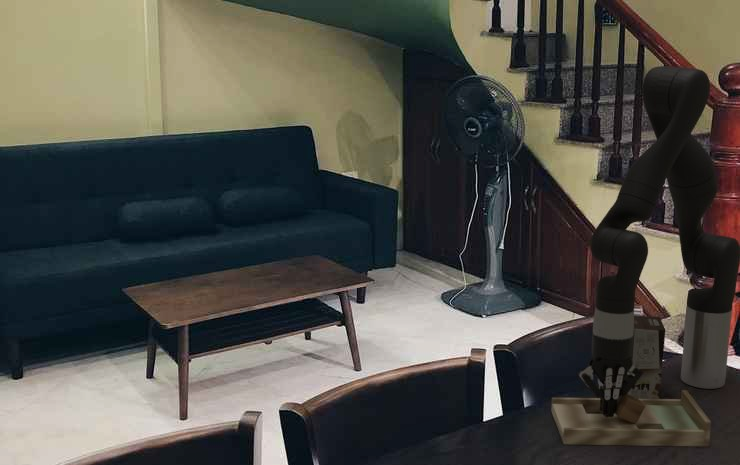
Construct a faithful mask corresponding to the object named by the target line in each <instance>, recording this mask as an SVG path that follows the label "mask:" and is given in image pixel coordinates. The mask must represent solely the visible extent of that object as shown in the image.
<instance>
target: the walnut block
mask: <svg viewBox="0 0 740 465" xmlns="http://www.w3.org/2000/svg"><path fill="white" fill-rule="evenodd" d="M644 408H645V405H644V404H643V403H642V402H641V401H640V400H639V399H638V398H636V397H634V396H632V395H629V394H628V393H627V394H626V395H621V396H619V397H618V398H617V408H616V412H615V414H616V415H617V416H618V417H619V418H622V419H624V420H627V421H629V422H632V423H634V424H636V423H637V421H638V419H639V418H640V416H641V414H642V412H643V410H644Z"/></svg>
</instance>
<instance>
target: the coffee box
mask: <svg viewBox="0 0 740 465" xmlns="http://www.w3.org/2000/svg"><path fill="white" fill-rule="evenodd" d="M666 332H667V330H666V327H665V326H664V323H663V320H662V319H661V317H660V316H652V315H651V316H648V315H647V316H646V315H645V316H644V315H643V316H641V315H640V316H637V315H634V336H633V349H632V356H631V359H632V361H633V365H634V366H636V367H637V368H639V369H640V370H641V371H642V372H643V374H642V376H641V377H640V378H639V379H638V381H637V382H636V383H635V384H634V386H633V387H632V388H631V389H630V391H629V392H628V393H627V394H629V395H632V396H634V397H636V398H638V399H661V387H662V386H661V385H662V376H663V374H662V372H663V362H664V351H665V340H666V339H665V338H666Z"/></svg>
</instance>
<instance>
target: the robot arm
mask: <svg viewBox="0 0 740 465" xmlns="http://www.w3.org/2000/svg"><path fill="white" fill-rule="evenodd" d="M641 91H642V100H643V101H642V102H643V105H644V108H645V111H646V115H647V118H648V120H649V121H650V125H651V128H652V130H653V132H654V136H655V139H656V141H654V143H652V144H651V145H650V146H649V147H648V148H647V149H646V150H645V151H643V152H642V154H640V156H638V158H636V159H635V161H634V162H633V163H632V164H631V166H630V167H629V169H628V170H627V172H626V173H625V177H624V178H623V180H622V181H623V182H622V183H621V187H620V189H619V192H618V194H617V197H616V200H615V202H614V204H612V205H611V207H610V208H609V210H608V211H607V213H606V214H605V215H604V217H603V218H602V219H601V221H600V223H599V224H598V225H597V227H596V228H595V230H594V231H593V233H592V235H591V240H590V253H591V255H592V257H593V258H594V259H595V260H596V261H598V262H601V263H604V264H607V265H610V266H614V267H617V271H616V274H615V275H606V276H603V277H600V278H599V280H598V282H597V283H596V284H597V285H596V293H595V294H596V295H595V309H594V315H593V322H592V340H591V358H590V360H589V361H588V362H589V363H588V367H586V368H585V369H584V370H582V369H581V370H578V371H577V375H578V377H579V378H580V380H581V381H582V382H583V383H584V385H585V386H586V387H587V389H588V390H590V392H591V393H592V394H593V395H594V396H595V398H600V412H601V413H602V414H603V415H604V416H605V417H613V416H614V414H615V412H616V408H617V398H618V397H619V396H621V395H626V394H628V392H629V391H630V389H631V388H632V387H633V386H634V384H635V383H636V382H637V381H638V379H639V378H640V377H641V376H642V374H643V372H642V371H641V370H640V369H639V368H637V367H636V366H634V365H633V361H632V359H631V356H632V349H633V336H634V316H635V302H636V301H635V299H636V290H637V286H638V284H639V281H640V278H641V275H642V272H643V269H644V267H645V265H646V262H647V259H648V255H649V246H648V241H647V239H646V238H645V236H644V235H643V234H641V233H640V232H638V231H634V230H631V229H630V230H628V228H629V227H630V225H631V224H634V223H640V222H647V221H648V220H650V219H651V217H652V216H653V213H654V212H655V208H656V206H657V203H658V201H659V198H660V195H661V192H662V190H663V187H664V185H665V182H666V180H667V186H668V190H669V193H670V196H671V200H672V204H673V208H674V212H675V213H674V214H675V216H676V217H675V218H676V221H677V227H678V236H679V244H680V251H681V252H680V254H681V258H682V263H683V265H684V268H685V270H686V271H687V272H689V273H690V274H694V275H697V276H701V277H707V278H712V279H713V282H712V286H709V287H704V288H702V287H701V288H696V289H694V290H693V289H692V290H691V291H690V292H689V293H688V294H687V298H686V313H685V322H684V323H685V324H684V334H683V335H684V337H683V348H682V357H681V358H682V360H681V367H680V368H681V369H680V370H681V371H680V380H681V381H682V382H683V383H684V384H686V385H689V386H691V387H695V388H700V389H708V390H710V389H711V390H712V389H719V388H720V389H721V388H722V387H724V386H725V385H726V376H727V368H728V367H727V366H728V356H729V354H728V353H729V347H730V346H729V345H730V335H731V322H732V316H733V315H732V314H733V303H734V300H735V299H734V298H735V296H736V289H737V280H738V275H739V268H740V242H739V241H738V239H736V238H734V237H730V236H724V235H718V234H711V233H707V232H706V231H704V228H703V223H702V219H703V217H704V215H705V214H706V213H707V211H708V210H709V208H710V207H711V206H712V204H713V202H714V201H715V199H716V195H717V194H718V189H719V187H718V186H719V185H718V179H717V175H716V170H715V165H714V162H713V160H712V157H711V156H710V154H709V153H708V151H707V149H705V148H704V147H703V145H702V143H700V142H699V140H697V139H696V137H695V136H694V135H693V134H692V132H693V131H694V129H695V127H696V125H697V124H698V121H699V120H700V118H701V117H702V114H703V113H704V110H705V109H706V107H707V103H708V101H709V97H710V92H711V82H710V78H709V75H708V74H707V73H706V72H705V71H704V70H702V69H698V68H691V67H680V66H678V67H677V66H671V65H670V66H669V65H666V66H664V65H662V66H659V65H658V66H654V67H652V68H650V70H648V72H647V73H646V74H645V76H644V79H643V82H642V89H641ZM593 374H594V375H595V377H596V378H597V383H598V386H597V385H596V384H595V382H594V381H593V380H594V375H593Z"/></svg>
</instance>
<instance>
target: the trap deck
mask: <svg viewBox="0 0 740 465" xmlns="http://www.w3.org/2000/svg"><path fill="white" fill-rule="evenodd" d="M680 393H681V394H680V399H679V398H660V399H639V400H640V401H641V402H642V403H643V404H644V405H645V408H644V410H643V412H642V414H641V416H640V418H639V419H638V421H637V423H636V424H634V423H632V422H629V421H627V420H624V419H622V418H619V417H618V416H617V415H616V414H614V416H613V417H605V416H604V415H603V414H602V413H601V412H600V398H598V397H551V410H550V411H551V414H552V417H553V419H554V422H555V425H556V427H557V430H558V432H559V436H560V438H561V441H562V443H563V445H584V446H585V445H587V446H590V445H591V446H594V445H595V446H641V447H642V446H643V447H644V446H649V447H655V446H657V447H708V448H709V446H710V438H711V437H710V436H711V427H712V421H711V420H710V419H709V417H708V416H707V415H706V414H705V412H704V410H703V409H702V408H701V406H699V405H698V403H697V402H696V400H695V399H694V398H693V396H692V395H691V394H690V393H689V391H688V390H687V389H682V390H681V392H680Z"/></svg>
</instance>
